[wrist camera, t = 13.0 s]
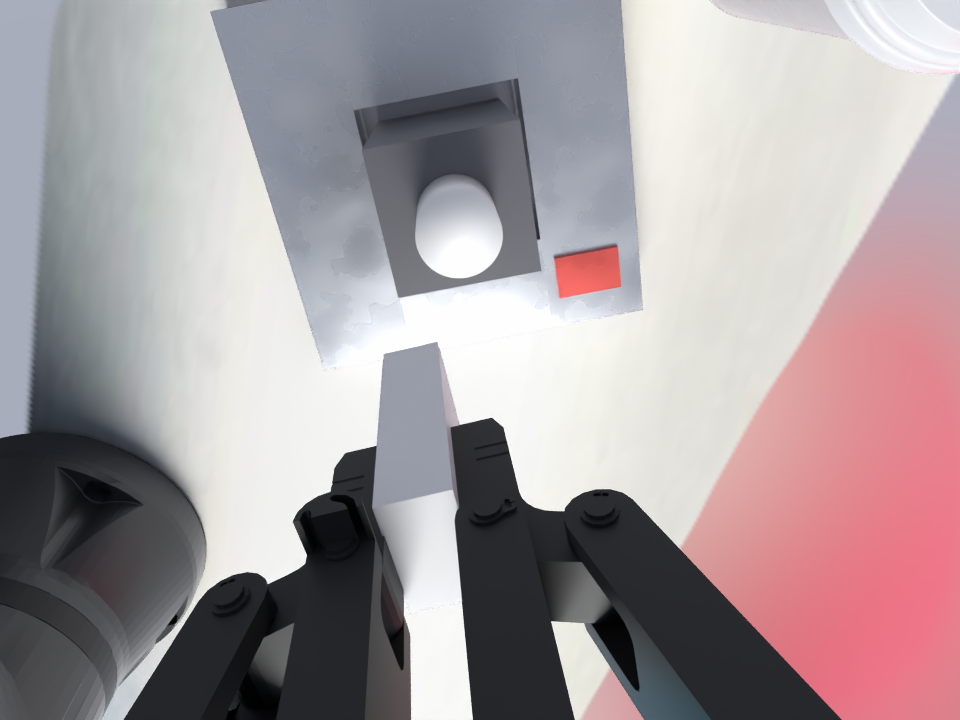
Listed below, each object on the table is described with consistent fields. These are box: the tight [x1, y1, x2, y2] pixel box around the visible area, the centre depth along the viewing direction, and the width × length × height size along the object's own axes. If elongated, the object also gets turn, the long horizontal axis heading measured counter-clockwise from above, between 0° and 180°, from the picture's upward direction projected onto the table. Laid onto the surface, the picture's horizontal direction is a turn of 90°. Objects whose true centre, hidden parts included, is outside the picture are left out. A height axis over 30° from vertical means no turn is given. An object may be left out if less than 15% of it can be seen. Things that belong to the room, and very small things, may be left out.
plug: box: [362, 98, 541, 298], centre depth 26 cm, size 6×6×11 cm
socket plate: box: [210, 0, 643, 370], centre depth 31 cm, size 16×16×3 cm
